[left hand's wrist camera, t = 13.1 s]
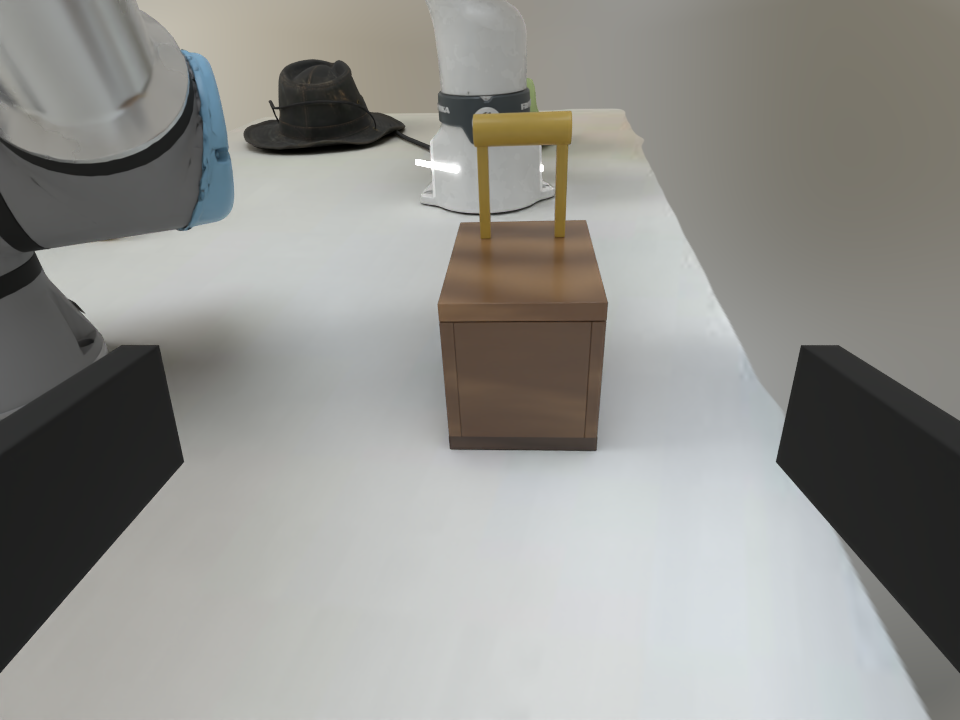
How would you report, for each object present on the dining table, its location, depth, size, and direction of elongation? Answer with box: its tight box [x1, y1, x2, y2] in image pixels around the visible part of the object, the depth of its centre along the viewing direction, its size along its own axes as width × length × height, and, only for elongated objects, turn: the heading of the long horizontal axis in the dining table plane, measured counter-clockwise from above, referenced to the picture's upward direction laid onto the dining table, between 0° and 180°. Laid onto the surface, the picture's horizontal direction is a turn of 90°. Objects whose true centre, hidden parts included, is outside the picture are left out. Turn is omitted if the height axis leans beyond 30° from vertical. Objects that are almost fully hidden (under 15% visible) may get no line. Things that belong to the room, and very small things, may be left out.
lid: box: [438, 111, 608, 322], centre depth 36 cm, size 14×9×9 cm
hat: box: [244, 59, 405, 149], centre depth 123 cm, size 32×35×14 cm
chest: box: [439, 321, 606, 450], centre depth 41 cm, size 13×9×9 cm
